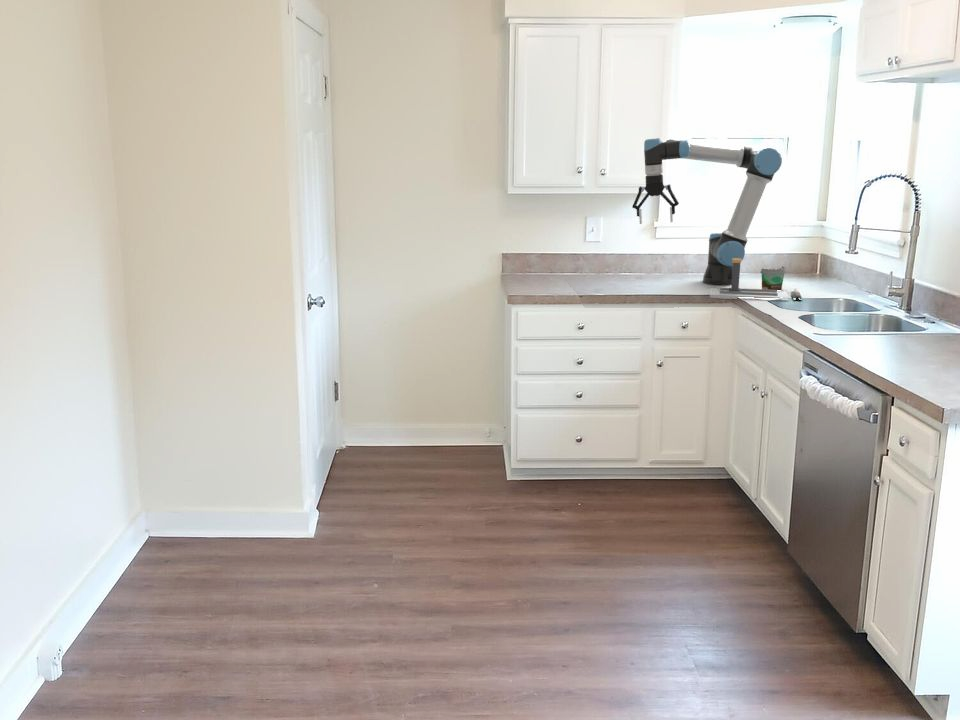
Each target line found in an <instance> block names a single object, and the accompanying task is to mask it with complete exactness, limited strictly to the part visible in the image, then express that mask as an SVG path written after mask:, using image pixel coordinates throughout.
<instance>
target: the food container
mask: <svg viewBox="0 0 960 720" xmlns="http://www.w3.org/2000/svg"><path fill="white" fill-rule="evenodd" d="M786 273H787V270H786V267H785V266H781V268H770V269H769V268H761V270H760V274H761V289H765V290H781V291H782V289H783V282H784V276H785V274H786Z"/></svg>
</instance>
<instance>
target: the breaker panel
mask: <svg viewBox="0 0 960 720" xmlns="http://www.w3.org/2000/svg"><path fill="white" fill-rule="evenodd" d="M729 288H730V287H719V288H715V287H713V288H712V287H711V288H710V289H709V298H710V299H727V300H728V299H729V300H738V299H737V298H738V297H754V298H780V297H783V298H788V297H789V296H788V293H787V291H786V290H781V291H777V290H765V289H762V288H761V289H760V288H759V289H758V288H757V289H756V288H741V292H735V291H729ZM788 299H789V298H788Z"/></svg>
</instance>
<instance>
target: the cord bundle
mask: <svg viewBox="0 0 960 720" xmlns="http://www.w3.org/2000/svg"><path fill="white" fill-rule="evenodd" d="M790 295H791V298H792V297H793V298H797V297H798V298H800V299H801V298H802V296H801V293H800V291H798V289H797V288H794V289H793V290H792V291H790ZM793 298H792V299H793ZM798 298H797V299H798Z"/></svg>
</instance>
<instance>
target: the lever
mask: <svg viewBox="0 0 960 720" xmlns="http://www.w3.org/2000/svg"><path fill="white" fill-rule="evenodd" d="M732 262H733V270H732V284H730V287H728V288H729V291H735V292H741V289H742V288H741V287H740V275H741V263H742V261H741V258H733V259H732ZM739 287H740V288H739Z"/></svg>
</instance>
